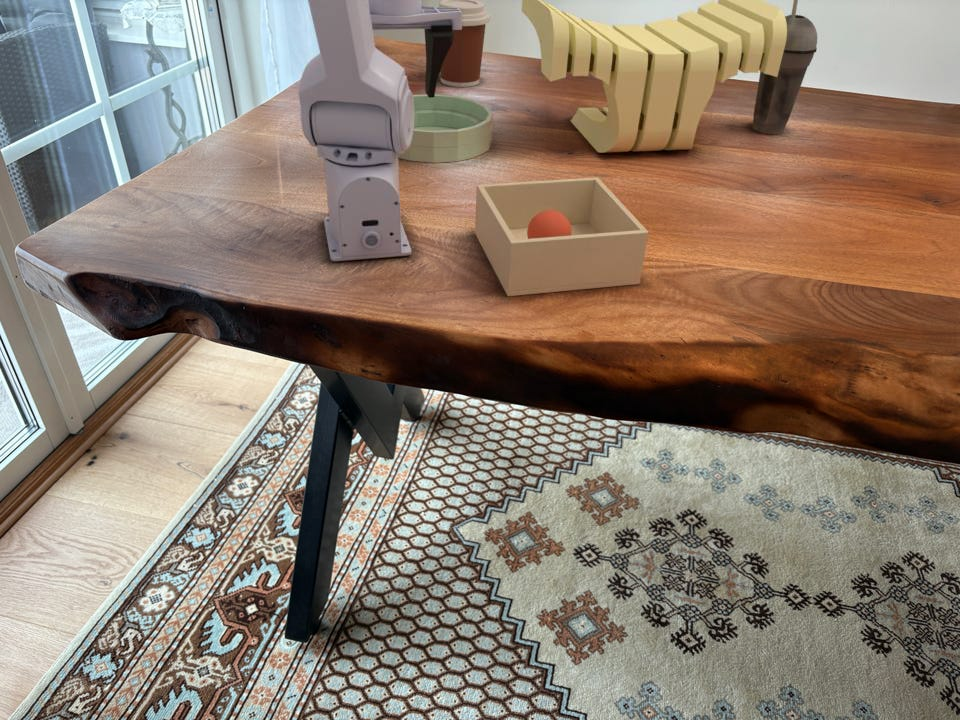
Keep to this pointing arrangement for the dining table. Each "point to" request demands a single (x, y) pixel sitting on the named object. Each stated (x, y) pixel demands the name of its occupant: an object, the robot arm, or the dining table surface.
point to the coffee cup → (465, 44)
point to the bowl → (449, 129)
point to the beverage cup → (785, 76)
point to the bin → (565, 259)
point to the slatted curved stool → (657, 67)
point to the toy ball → (549, 225)
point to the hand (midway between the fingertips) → (397, 96)
